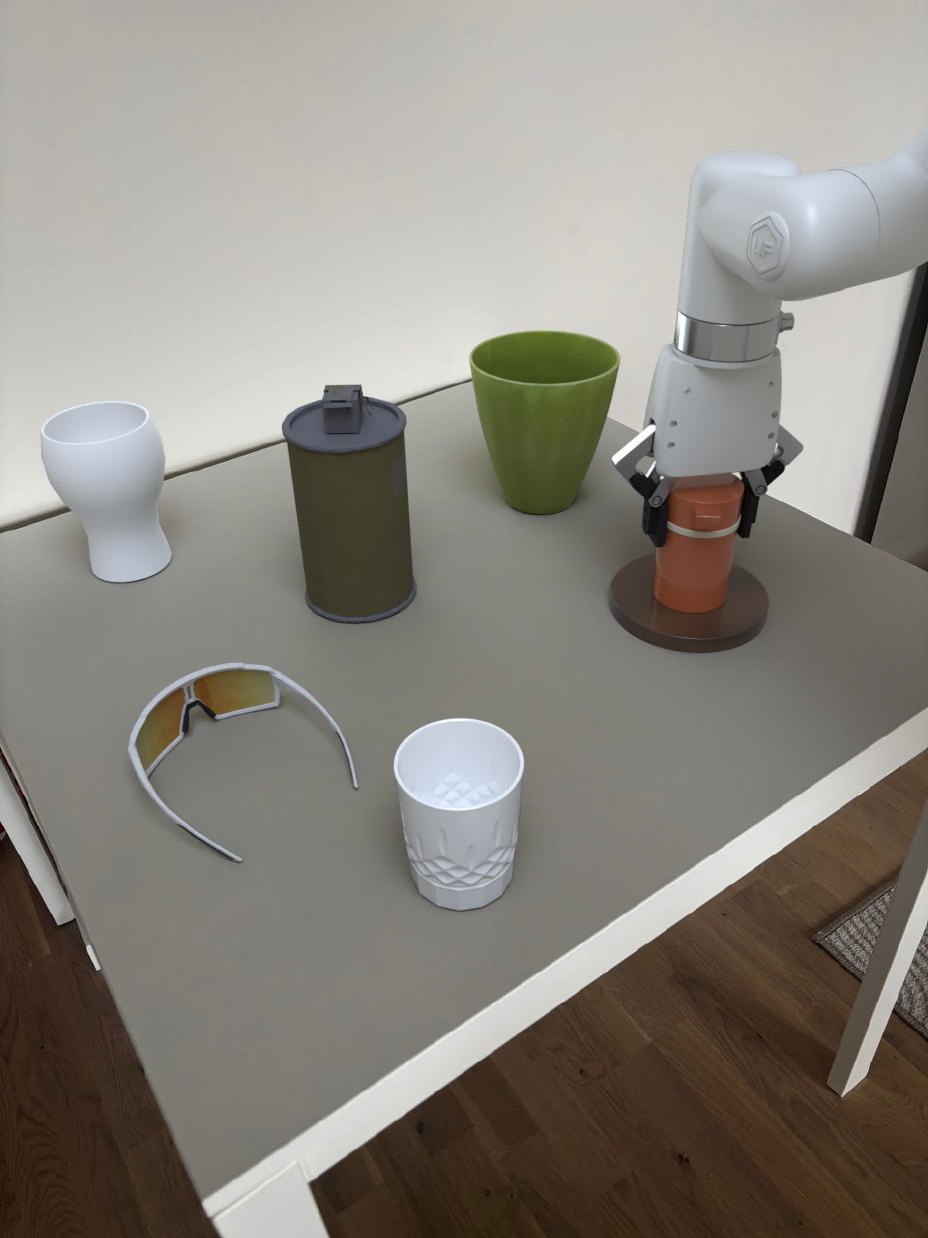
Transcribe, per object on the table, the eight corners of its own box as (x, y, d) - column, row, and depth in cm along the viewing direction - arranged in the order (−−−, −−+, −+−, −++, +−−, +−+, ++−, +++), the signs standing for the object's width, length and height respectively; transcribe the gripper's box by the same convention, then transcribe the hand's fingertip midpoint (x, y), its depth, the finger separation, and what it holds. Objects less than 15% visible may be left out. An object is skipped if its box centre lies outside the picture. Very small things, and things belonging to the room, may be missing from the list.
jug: (648, 558, 92) (659, 452, 86) (721, 561, 92) (738, 455, 85) (652, 622, 84) (665, 511, 77) (733, 626, 83) (753, 514, 77)
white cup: (386, 847, 66) (375, 739, 60) (491, 811, 69) (491, 704, 63) (429, 937, 60) (421, 826, 54) (542, 894, 63) (546, 784, 57)
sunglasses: (266, 679, 81) (262, 636, 77) (380, 792, 73) (381, 749, 70) (107, 763, 73) (96, 718, 70) (215, 899, 65) (208, 856, 62)
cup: (193, 578, 94) (161, 435, 85) (78, 601, 91) (33, 455, 82) (180, 526, 102) (150, 391, 93) (74, 546, 99) (33, 408, 90)
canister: (413, 623, 87) (400, 415, 75) (297, 624, 87) (266, 417, 76) (419, 558, 96) (408, 363, 84) (314, 560, 96) (289, 365, 84)
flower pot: (533, 454, 114) (536, 319, 105) (637, 495, 105) (650, 352, 96) (443, 500, 105) (438, 357, 96) (548, 548, 97) (553, 397, 87)
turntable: (800, 623, 86) (803, 609, 85) (672, 671, 81) (674, 657, 80) (699, 550, 96) (700, 537, 95) (580, 589, 91) (580, 576, 90)
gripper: (810, 308, 78) (773, 504, 88) (600, 325, 76) (587, 523, 86) (856, 341, 72) (810, 547, 82) (628, 359, 70) (611, 568, 80)
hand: (696, 533), depth 84 cm, fingers closed on jug, 6 cm apart
